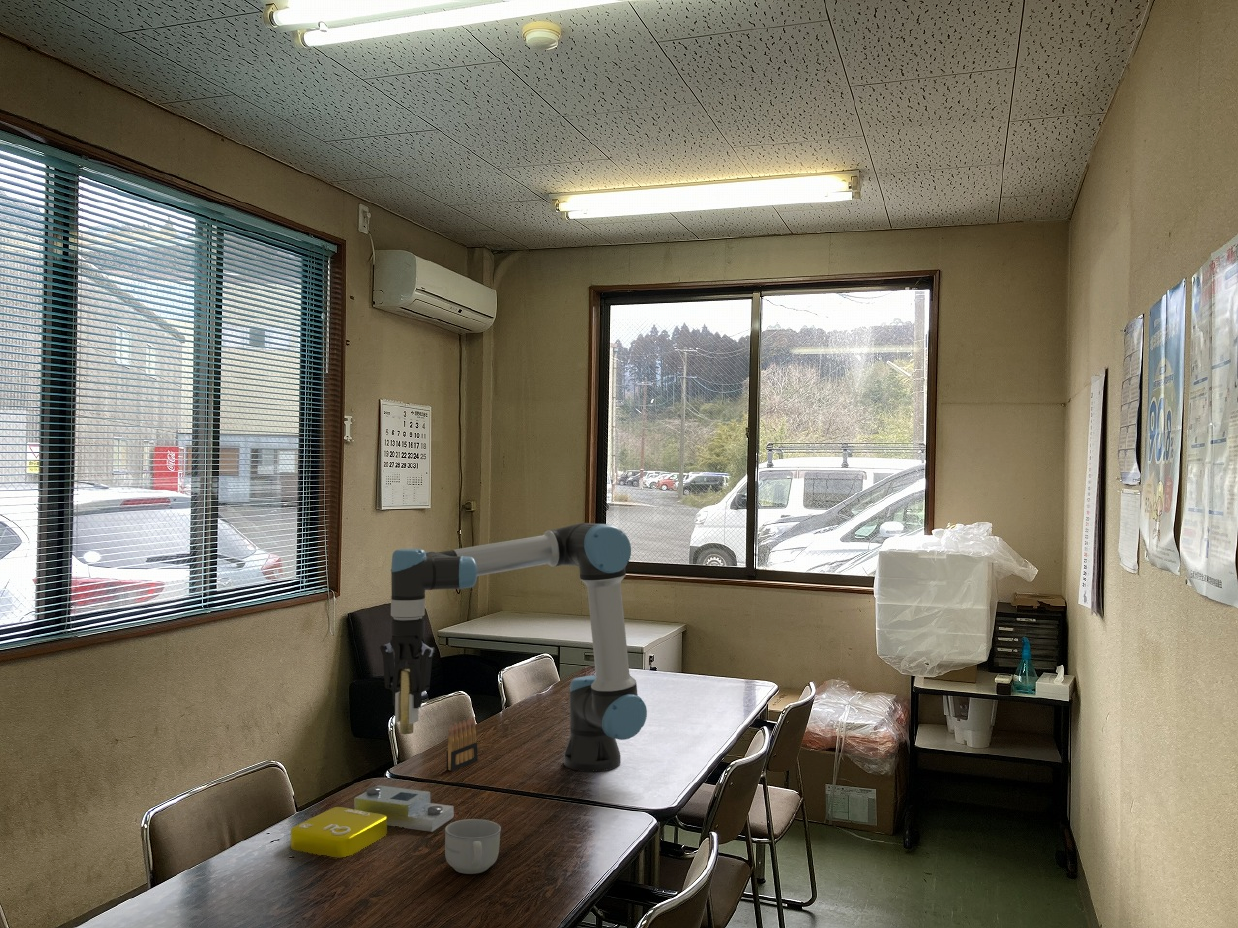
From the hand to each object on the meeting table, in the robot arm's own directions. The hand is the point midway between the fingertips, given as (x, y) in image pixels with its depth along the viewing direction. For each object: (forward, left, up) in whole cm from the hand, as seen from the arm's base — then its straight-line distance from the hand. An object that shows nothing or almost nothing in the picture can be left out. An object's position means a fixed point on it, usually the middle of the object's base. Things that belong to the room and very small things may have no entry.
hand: (406, 721), depth 207 cm
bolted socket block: (0, +2, -21) cm, 21 cm away
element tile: (+6, +17, -22) cm, 28 cm away
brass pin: (0, 0, -3) cm, 3 cm away
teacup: (-28, +21, -22) cm, 41 cm away
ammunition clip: (+7, -36, -22) cm, 43 cm away
